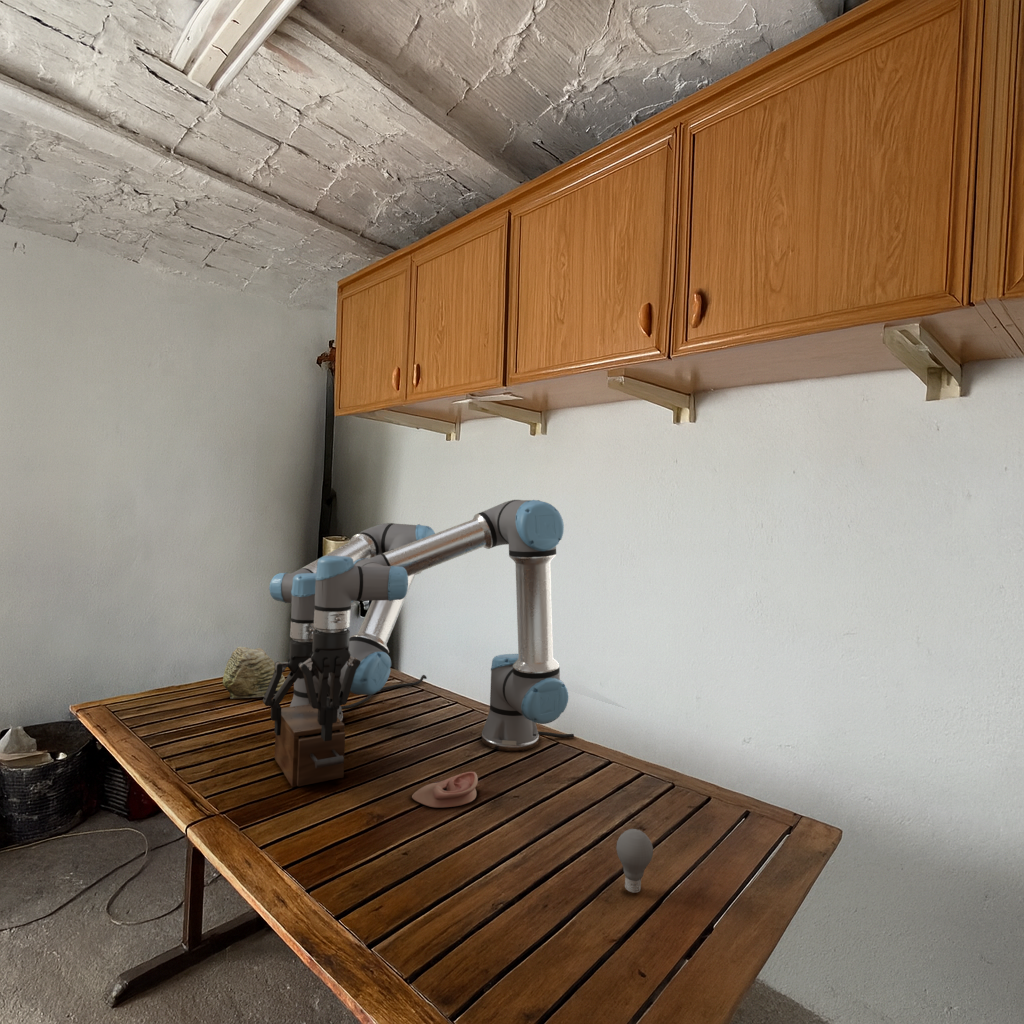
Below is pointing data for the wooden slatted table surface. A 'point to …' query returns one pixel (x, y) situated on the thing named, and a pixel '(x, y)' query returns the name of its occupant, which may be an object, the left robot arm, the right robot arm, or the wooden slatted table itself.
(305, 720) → the cabinet
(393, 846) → the wooden slatted table surface
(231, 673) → the fossil
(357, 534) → the left robot arm
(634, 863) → the light bulb
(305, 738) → the drawer
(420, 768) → the wooden slatted table surface
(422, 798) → the anatomical model
